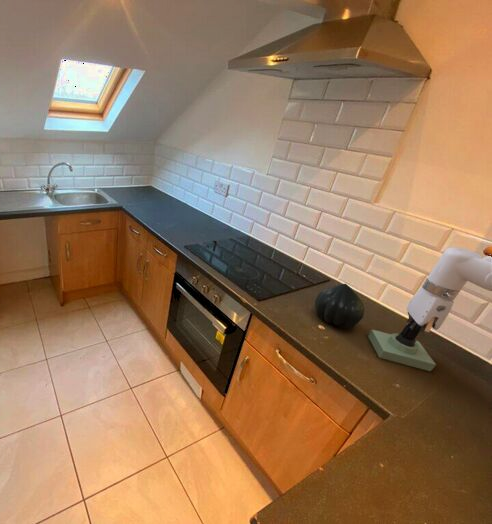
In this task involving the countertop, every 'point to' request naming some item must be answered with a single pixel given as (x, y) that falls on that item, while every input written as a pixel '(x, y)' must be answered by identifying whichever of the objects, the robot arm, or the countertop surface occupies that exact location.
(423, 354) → the knob plate
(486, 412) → the countertop surface
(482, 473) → the countertop surface
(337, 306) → the squash
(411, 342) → the button
